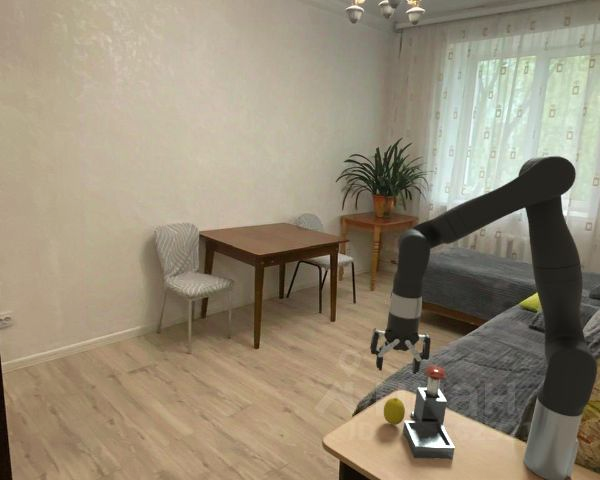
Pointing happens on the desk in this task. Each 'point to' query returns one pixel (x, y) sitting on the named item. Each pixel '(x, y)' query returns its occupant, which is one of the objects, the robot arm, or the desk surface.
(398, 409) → the lemon
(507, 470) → the desk surface
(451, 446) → the square metal tray
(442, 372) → the plunger
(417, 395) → the press column
